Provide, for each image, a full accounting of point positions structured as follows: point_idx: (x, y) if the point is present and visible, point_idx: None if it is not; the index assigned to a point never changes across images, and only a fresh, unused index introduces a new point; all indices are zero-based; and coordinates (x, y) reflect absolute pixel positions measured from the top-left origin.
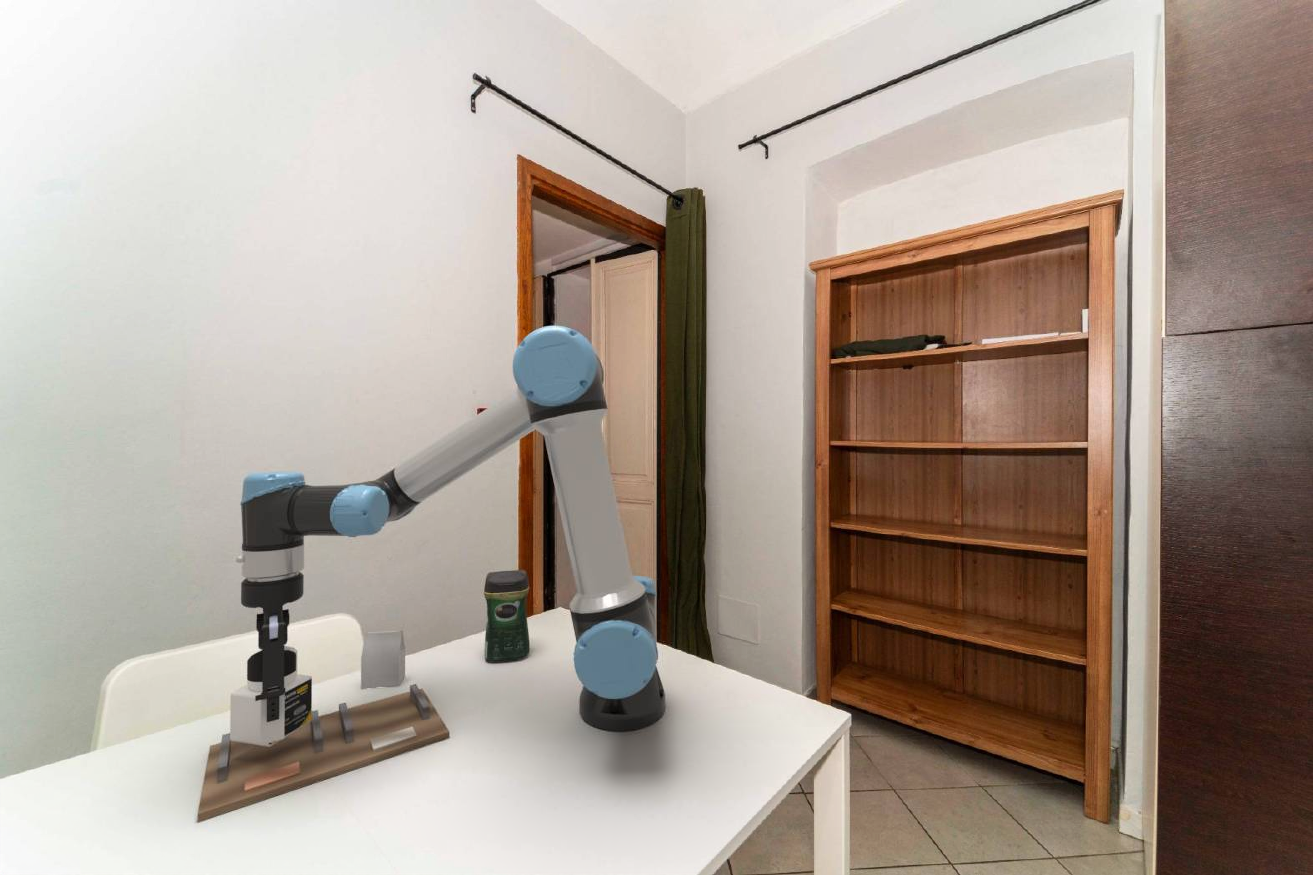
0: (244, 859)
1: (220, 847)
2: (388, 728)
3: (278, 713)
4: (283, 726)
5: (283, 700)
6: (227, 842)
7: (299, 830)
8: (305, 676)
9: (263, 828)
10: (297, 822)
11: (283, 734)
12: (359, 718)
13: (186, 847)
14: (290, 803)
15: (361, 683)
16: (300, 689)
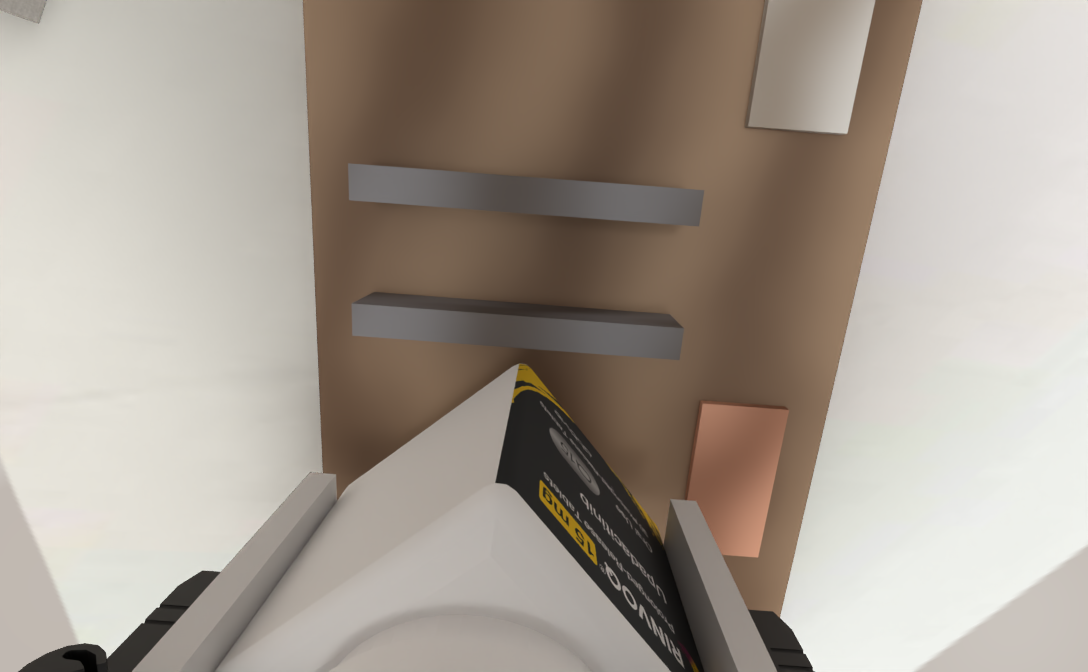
0: (1050, 551)
1: (938, 591)
2: (680, 14)
3: (799, 647)
4: (712, 542)
5: (771, 670)
6: (931, 578)
7: (1055, 429)
8: (497, 543)
9: (949, 505)
10: (1008, 429)
11: (699, 515)
12: (468, 119)
13: (863, 648)
14: (882, 434)
15: (4, 8)
16: (581, 538)
